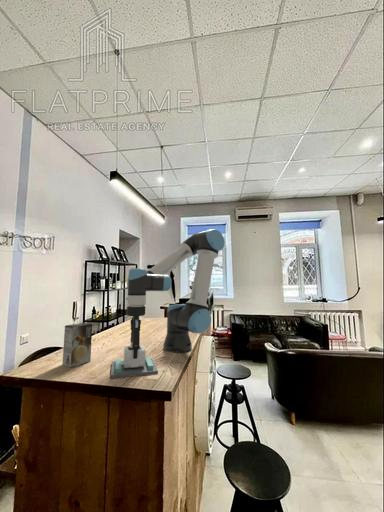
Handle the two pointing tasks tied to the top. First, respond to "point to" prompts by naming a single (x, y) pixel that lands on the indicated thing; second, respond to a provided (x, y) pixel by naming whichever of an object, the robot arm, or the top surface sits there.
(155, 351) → the top surface
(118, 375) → the board
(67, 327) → the coffee box
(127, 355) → the collar
